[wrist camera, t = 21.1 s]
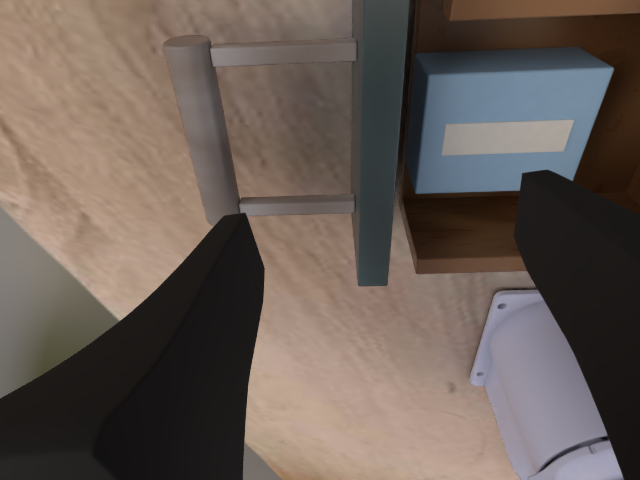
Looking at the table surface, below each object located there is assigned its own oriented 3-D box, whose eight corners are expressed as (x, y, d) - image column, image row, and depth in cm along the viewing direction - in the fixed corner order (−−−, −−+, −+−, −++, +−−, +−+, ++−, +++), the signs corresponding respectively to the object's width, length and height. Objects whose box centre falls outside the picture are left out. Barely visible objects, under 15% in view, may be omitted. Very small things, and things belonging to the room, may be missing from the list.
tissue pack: (543, 158, 19) (571, 190, 17) (404, 162, 19) (414, 195, 17) (578, 45, 16) (617, 68, 14) (414, 52, 16) (428, 75, 14)
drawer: (228, 214, 22) (205, 291, 18) (173, -43, 15) (115, -20, 11) (620, 202, 21) (693, 278, 17) (748, -71, 15) (922, -58, 10)
